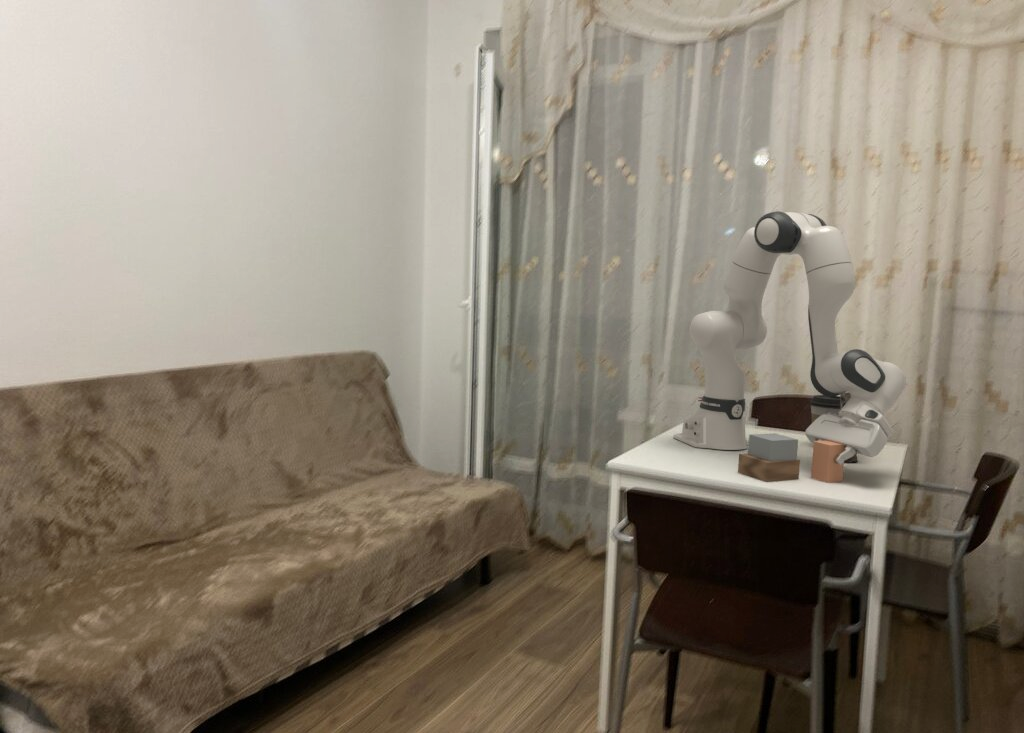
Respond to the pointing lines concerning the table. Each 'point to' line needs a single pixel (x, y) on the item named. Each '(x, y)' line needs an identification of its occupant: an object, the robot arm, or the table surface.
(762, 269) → the robot arm
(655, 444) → the table surface
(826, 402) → the coffee cup
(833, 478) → the terracotta block
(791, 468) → the tower base
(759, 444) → the tower top
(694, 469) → the table surface
